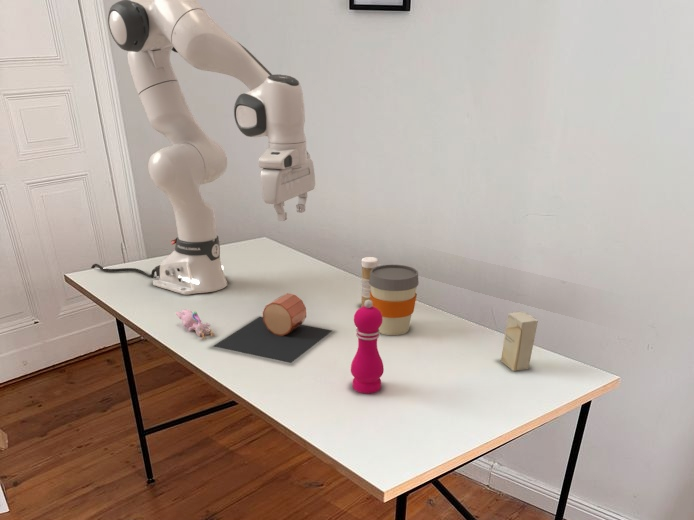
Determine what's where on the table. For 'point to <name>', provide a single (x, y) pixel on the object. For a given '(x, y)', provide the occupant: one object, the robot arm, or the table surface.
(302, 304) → the cup
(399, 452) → the table surface
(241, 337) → the mat
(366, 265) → the spice jar
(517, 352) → the cosmetic box
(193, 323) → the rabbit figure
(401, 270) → the reusable coffee cup
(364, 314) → the pepper mill
